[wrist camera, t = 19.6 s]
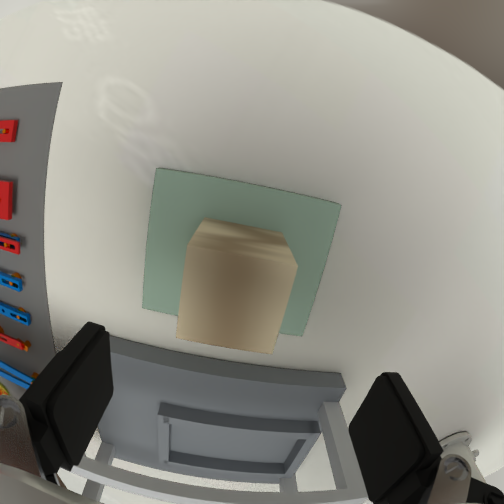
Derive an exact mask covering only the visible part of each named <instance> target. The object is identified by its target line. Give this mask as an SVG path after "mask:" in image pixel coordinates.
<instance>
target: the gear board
mask: <svg viewBox="0 0 504 504" xmlns="http://www.w3.org/2000/svg"><path fill="white" fill-rule="evenodd" d="M62 83H63V82H56V83H43V84H32V85H23V86H15V87H8V88H1V89H0V395H9V396H12V397H15V398H16V399H18V400H19V399H20V398H21V396H22V395H23V394H24V393H25V391H26V390H27V389H28V388H29V386H30V385H31V384H32V383H33V381H34V380H35V379H36V378H37V376H38V375H39V374H40V373H41V372H42V370H43V369H44V368H45V367H46V366H47V364H48V363H49V362H50V361H51V360H52V359H53V357H54V356H55V355H56V352H55V347H54V342H53V336H52V330H51V323H50V316H49V308H48V299H47V289H46V277H45V260H44V205H45V188H46V175H47V165H48V157H49V149H50V142H51V136H52V130H53V124H54V118H55V113H56V108H57V104H58V99H59V95H60V91H61V87H62ZM83 456H85V457H86V455H85V453H84V455H83Z"/></svg>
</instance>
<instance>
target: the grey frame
mask: <svg viewBox="0 0 504 504" xmlns="http://www.w3.org/2000/svg"><path fill="white" fill-rule="evenodd" d="M109 336H110V335H109ZM110 353H111V366H112V377H113V386H114V391H113V396H112V398H111V400H110V402H109V404H108V406H107V408H106V410H105V412H104V414H103V416H102V418H101V420H100V422H99V424H98V429H99V433H100V436H101V440H102V443H101V445H100V448H99V450H98V453H97V455H96V458H95V460H93V459H90V458H88V457H85V456H83V457H82V459H81V462H80V463H79V465H78V466H73V468H72V470H71V472H72V473H74V474H77V475H79V476H82V477H84V478H87V482H86V485H85V487H84V490H83V493H82V496H85V497H87V498H90V499H93V500H95V501H98V502H99V501H100V498H101V495H102V492H103V489H104V485H106V486H109V487H112V488H116V489H119V490H122V491H125V492H129V493H133V494H136V495H140V496H144V497H148V498H152V499H156V500H161V501H166V502H171V503H176V504H362V503H363V502H364V501H366V500H367V499H368V494H367V491H366V488H365V484H364V481H363V477H362V474H361V471H360V467H359V464H358V461H357V457H356V454H355V451H354V448H353V445H352V441H351V438H350V435H349V430H348V427H347V424H346V421H345V418H344V415H343V412H342V409H341V406H340V404H339V401H340V399H341V397H342V395H343V394H344V392H345V390H346V386H345V383H344V381H343V378H342V376H341V373H328V372H314V371H302V370H292V369H282V368H273V367H265V366H257V365H250V364H243V363H236V362H230V361H223V360H217V359H212V358H206V357H201V356H195V355H190V354H185V353H180V352H175V351H171V350H166V349H161V348H157V347H153V346H148V345H144V344H140V343H136V342H132V341H128V340H124V339H121V338H117V337H113V336H110ZM321 432H323V436H324V440H325V444H326V448H327V452H328V456H329V460H330V464H331V468H332V472H333V476H334V480H335V484H336V489H337V490H327V491H313V492H298V490H297V483H296V476H295V472H296V471H297V469H298V468H299V466H300V465H301V463H302V462H303V460H304V459H305V457H306V456H307V454H308V453H309V451H310V450H311V448H312V447H313V445H314V444H315V442H316V440H317V439H318V437H319V436H320V434H321ZM113 458H118V459H121V460H124V461H128V462H131V463H135V464H139V465H142V466H146V467H150V468H154V469H159V470H163V471H168V472H173V473H178V474H183V475H189V476H195V477H202V478H209V479H216V480H225V481H236V482H249V483H270V484H280V492H251V491H236V490H225V489H216V488H208V487H201V486H194V485H188V484H182V483H177V482H172V481H167V480H162V479H158V478H154V477H149V476H145V475H141V474H138V473H134V472H130V471H127V470H123V469H120V468H117V467H114V466H111V464H112V461H113ZM60 468H61V467H60ZM67 471H68V470H67ZM69 472H70V471H69Z"/></svg>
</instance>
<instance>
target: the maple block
mask: <svg viewBox="0 0 504 504" xmlns="http://www.w3.org/2000/svg"><path fill="white" fill-rule="evenodd" d="M297 269H298V265H297V263H296V261H295V259H294V256H293V254H292V252H291V250H290V248H289V246H288V244H287V242H286V240H285V238H284V235H283V233H282V232H277V231H272V230H267V229H263V228H258V227H253V226H247V225H242V224H237V223H232V222H227V221H222V220H217V219H211V218H206V217H204V219H203V220H202V222H201V224H200V225H199V227H198V228H197V230H196V232H195V233H194V235H193V236H192V238H191V240H190V241H189V243H188V245H187V250H186V257H185V264H184V271H183V279H182V287H181V295H180V304H179V313H178V322H177V332H176V338H179V339H184V340H188V341H194V342H199V343H204V344H209V345H215V346H220V347H226V348H232V349H238V350H245V351H252V352H258V353H266V354H272V353H273V350H274V346H275V343H276V340H277V337H278V334H279V330H280V327H281V324H282V320H283V317H284V314H285V310H286V307H287V304H288V300H289V297H290V293H291V290H292V286H293V283H294V279H295V276H296V272H297Z"/></svg>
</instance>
